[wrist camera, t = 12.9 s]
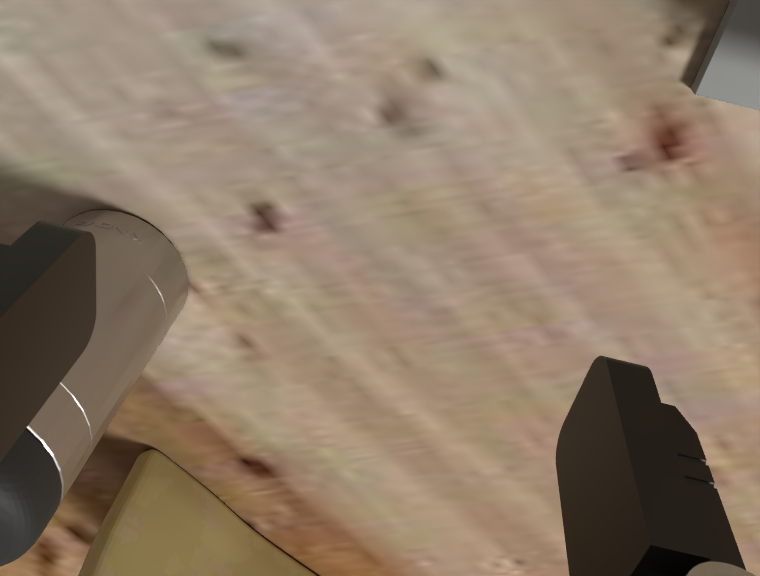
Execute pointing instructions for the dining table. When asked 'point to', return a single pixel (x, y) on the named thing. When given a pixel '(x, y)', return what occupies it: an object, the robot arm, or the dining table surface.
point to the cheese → (178, 531)
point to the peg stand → (733, 58)
